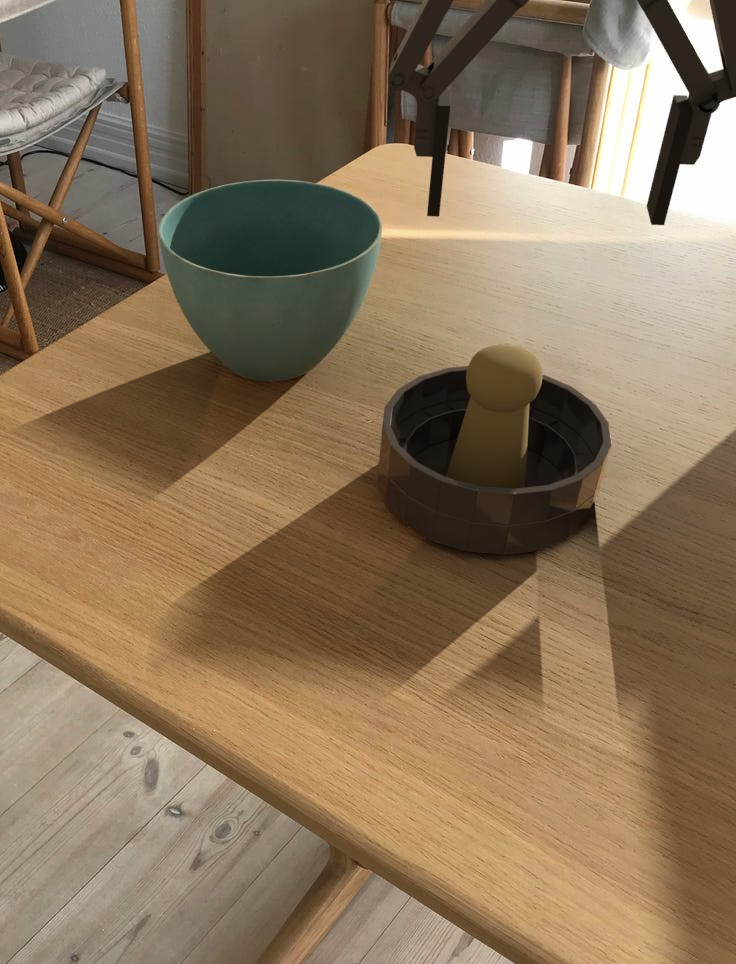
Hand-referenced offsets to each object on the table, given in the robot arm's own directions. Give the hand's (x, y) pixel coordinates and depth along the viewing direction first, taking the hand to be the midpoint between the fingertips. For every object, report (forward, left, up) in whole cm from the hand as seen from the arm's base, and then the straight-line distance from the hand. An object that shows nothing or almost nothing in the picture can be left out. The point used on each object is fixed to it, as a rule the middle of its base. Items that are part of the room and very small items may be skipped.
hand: (542, 212), depth 65 cm
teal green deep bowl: (+20, -16, -21) cm, 33 cm away
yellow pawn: (+1, +1, -21) cm, 21 cm away
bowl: (+1, +1, -21) cm, 21 cm away
